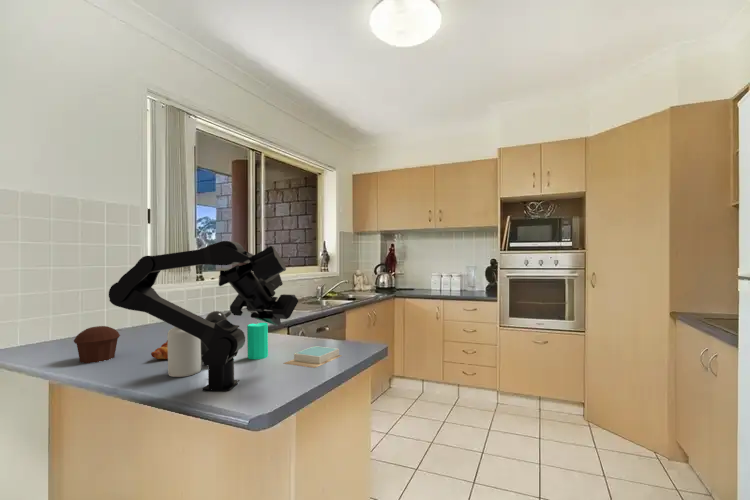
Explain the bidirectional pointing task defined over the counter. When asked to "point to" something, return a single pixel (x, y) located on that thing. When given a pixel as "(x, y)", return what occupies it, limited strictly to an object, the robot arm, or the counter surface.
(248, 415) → the counter surface
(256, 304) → the robot arm
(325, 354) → the tile
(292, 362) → the mat
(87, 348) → the muffin
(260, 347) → the candle
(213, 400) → the counter surface
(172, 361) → the pill bottle
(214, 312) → the pump dispenser
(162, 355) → the croissant
